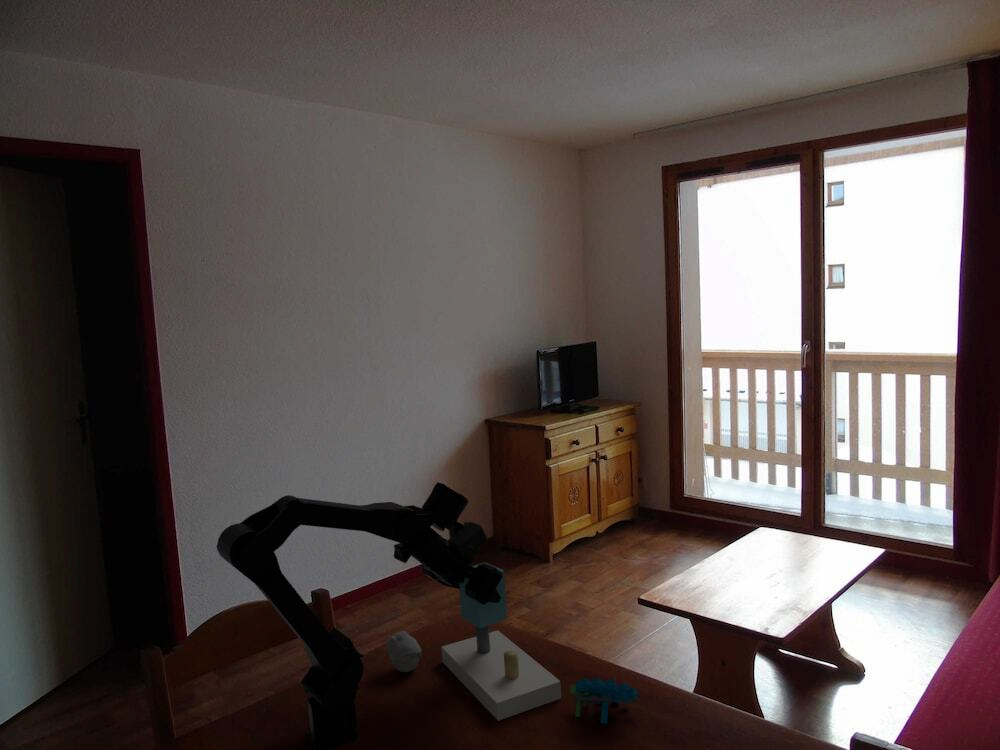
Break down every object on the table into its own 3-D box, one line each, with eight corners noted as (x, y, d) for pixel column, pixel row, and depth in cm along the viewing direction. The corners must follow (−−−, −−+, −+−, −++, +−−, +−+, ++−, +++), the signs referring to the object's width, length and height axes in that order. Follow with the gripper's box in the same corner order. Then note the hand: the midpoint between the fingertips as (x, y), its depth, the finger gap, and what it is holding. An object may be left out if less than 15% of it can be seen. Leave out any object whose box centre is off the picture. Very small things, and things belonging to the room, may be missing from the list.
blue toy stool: (646, 695, 116) (626, 674, 110) (644, 734, 113) (624, 715, 106) (582, 692, 121) (560, 672, 115) (579, 730, 118) (555, 711, 111)
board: (498, 720, 115) (495, 673, 114) (442, 661, 135) (439, 621, 134) (561, 698, 120) (558, 652, 119) (498, 644, 141) (496, 605, 140)
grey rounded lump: (403, 658, 137) (401, 623, 137) (430, 667, 133) (427, 631, 132) (380, 672, 133) (377, 636, 132) (407, 682, 128) (404, 645, 128)
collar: (480, 628, 127) (477, 579, 126) (461, 618, 132) (458, 570, 131) (507, 618, 130) (504, 570, 130) (487, 608, 135) (484, 562, 134)
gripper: (490, 523, 119) (543, 570, 127) (431, 503, 134) (482, 546, 142) (453, 581, 115) (511, 626, 123) (397, 554, 130) (452, 595, 138)
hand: (488, 595), depth 131 cm, fingers closed on collar, 6 cm apart
